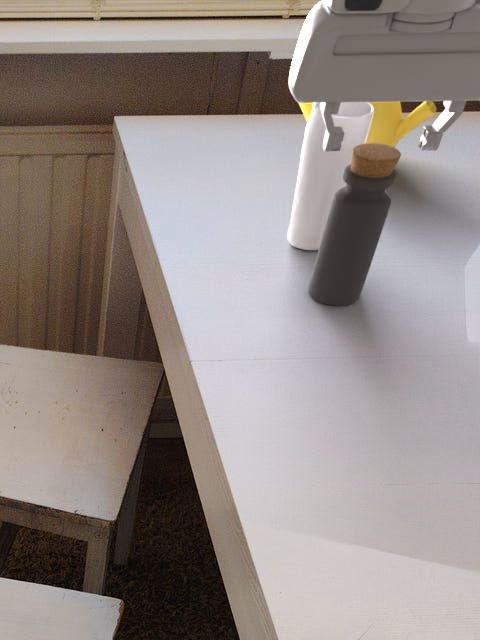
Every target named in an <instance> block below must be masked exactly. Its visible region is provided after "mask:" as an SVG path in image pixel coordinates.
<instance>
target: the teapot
mask: <svg viewBox="0 0 480 640" xmlns="http://www.w3.org/2000/svg"><path fill="white" fill-rule="evenodd" d="M297 103H298V105H299V107H300V110H301V112H302V113H303V116H304V119H305V120H306V126H305V129H304V133H305V132H306V128H307V124H308V121H309V117H310V113H311V110H312V106H313V104H314V103H299V102H297ZM369 103H370V104H371V105H373V107H374V114H373V118H372V122H371V126H370V130H369V134H368V137H367V141H366V143H379V144H385V145H389V146H392V147H394V148H396V146H397V145H398V143H399V141H400V140H401V139H403V138H404V137H405V136H407V135H408V134H409V133H411V132H412V131H413V130H415V129H416V128H417V127H418V126H420V125H421V124H423V123H424V122H426V121H427V120H428V119H430V117H432V116H433V115H434V114H436V113H437V106H436V104H435V103H434V101H422V103H421V104H420V105H418V106H417V107H416V108H415V109H413V110H412V111H411V112H410V113H408V114H407V115H406V116H405V117H403V110H402V104H401V103H402V102H369Z"/></svg>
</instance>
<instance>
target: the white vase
mask: <svg viewBox="0 0 480 640" xmlns="http://www.w3.org/2000/svg"><path fill="white" fill-rule="evenodd" d="M320 104H321V103H314V104H313V106H312V110H311V113H310V117H309V121H308V122H307V123H308V124H307V123H306V125H307V128H306V127H305V129H306V132H305V131H304V137H303V140H302V141H303V142H302V147H301V153H300V159H299V167H298V172H297V179H296V184H295V192H294V196H293V197H294V198H293V203H292V209H291V216H290V220H289V221H290V222H289V225H288V228H287V234H286V239H287V241H288V243H289V244H290V245H291V246H292V247H294V248H296V249H300V250H305V251H319V247H320V243H321V240H322V236H323V232H324V229H325V225H326V222H327V218H328V215H329V211H330V208H331V204H332V201H333V198H334V195H335V193H336V192H337V191H338V190H339V189H341V188H343V187H345V186H346V184H347V183H345V181H344V180H343V174H344V171H345V168H346V167H347V166H348V165H349V164H351V159H352V150H353V148H354V147H356V146H358V145H360V144H366V141H367V137H368V134H369V130H370V126H371V122H372V118H373V114H374V107H373V105H371V104H370V103H369V102H341V103H340V107H339V111H338V113H337V114H331V115H332V119H333V122H334V126H335V127H342V130H343V131H344V137H343V141H342V142H341V149H340V151H329V152H328V151H324V149H323V140H324V136H325V132H326V127H325V123H324V120H323V116H322V113H321V109H320Z"/></svg>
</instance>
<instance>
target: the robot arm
mask: <svg viewBox="0 0 480 640" xmlns="http://www.w3.org/2000/svg"><path fill="white" fill-rule="evenodd" d="M290 65H291V66H290V69H289V75H288V82H287V84H288V89H289V91H290V94H291V95H292V97H293V99H294V100H295V101H296V102H297V103H298V102H299V103H321V104H320V109H321V113H322V116H323V120H324V123H325V127H326V132H325V136H324V140H323V149H324V151H328V152H329V151H340V149H341V142H342V141H343V137H344V131H343V130H342V127H335V126H334V122H333V119H332V115H331V114H337V113H338V111H339V107H340V103H341V102H400V103H402V102H424V101H433V102H442V105H443V107H444V108H445V109H444V110H443V111H442V113H440V115H439V116H438V118H437V119H436V120H435V121H434V123H433V124H432V125H423V128H422V131H421V136H420V137H419V140H418V148H419V149H420V151H423V152H424V151H425V152H428V151H432V152H433V151H435V152H437V150H438V149H439V148H440V144H441V141H442V138H443V135H444V133H446V132H447V131H448V130H449V128H450V127H451V126H452V125H453V124H454V123H455V122H456V121H457V120H458V119H459V117H460V116H462V115H463V112H464V110H465V107H466V105H467V101H469V102H471V101H474V102H475V101H480V0H321V1H318V2H317V3H316V4H315V5H314V6H313V8H311V10H310V11H309V13H308V15H307V16H306V19H305V21H304V23H303V26H302V29H301V31H300V34H299V37H298V40H297V43H296V47H295V50H294V54H293V58H292V61H291V64H290ZM299 103H298V104H299Z"/></svg>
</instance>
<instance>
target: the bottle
mask: <svg viewBox="0 0 480 640" xmlns="http://www.w3.org/2000/svg"><path fill="white" fill-rule="evenodd" d="M401 156H402V153H401V151H400V150H399V149H398V148H396V147H392V146H389V145H385V144H379V143H366V144H360V145H358V146H356V147H354V148H353V150H352V159H351V164H349V165H348V166H347V167H346V168H345V171H344V174H343V180H344V181H345V183H347V184H346V186H345V187H343V188H341V189H339V190H338V191H337V192H336V193H335V195H334V198H333V201H332V204H331V208H330V211H329V215H328V218H327V222H326V225H325V229H324V232H323V236H322V240H321V243H320V247H319V250H317V255H316V258H315V261H314V266H313V268H312V272H311V276H310V280H309V284H308V290H307V292H308V294H309V295H310V297H311V298H313V299H314V300H315V301H317V302H319V303H321V304H324V305H329V306H336V307H337V306H339V307H340V306H348V305H352V304H354V303H357V301H358V300H359V299H360V297H361V295H362V292H363V289H364V287H365V283H366V280H367V276H368V275H369V273H370V268H371V266H372V262H373V261H374V256H375V253H376V250H377V247H378V244H379V241H380V238H381V235H382V233H383V228H384V227H385V223H386V220H387V217H388V214H389V211H390V208H391V205H392V199H391V196H390V195H389V193H388V192H387V191H386V190H387V189H390V188H391V187H392V186H393V185H394V184H395V181H396V178H397V171H396V170H395V168H396V166H397V164H398V163H399V160H400V159H401Z"/></svg>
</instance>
